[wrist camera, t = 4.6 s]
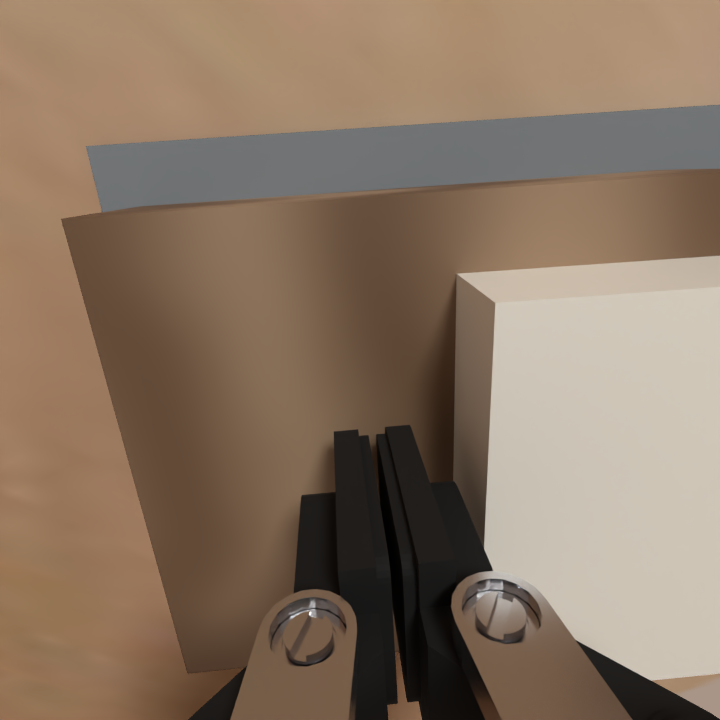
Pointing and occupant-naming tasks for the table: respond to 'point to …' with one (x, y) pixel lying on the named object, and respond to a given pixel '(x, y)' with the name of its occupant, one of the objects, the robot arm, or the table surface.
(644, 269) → the cream tile
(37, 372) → the table surface
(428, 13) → the table surface
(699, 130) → the rubber mat
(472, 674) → the robot arm
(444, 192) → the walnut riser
